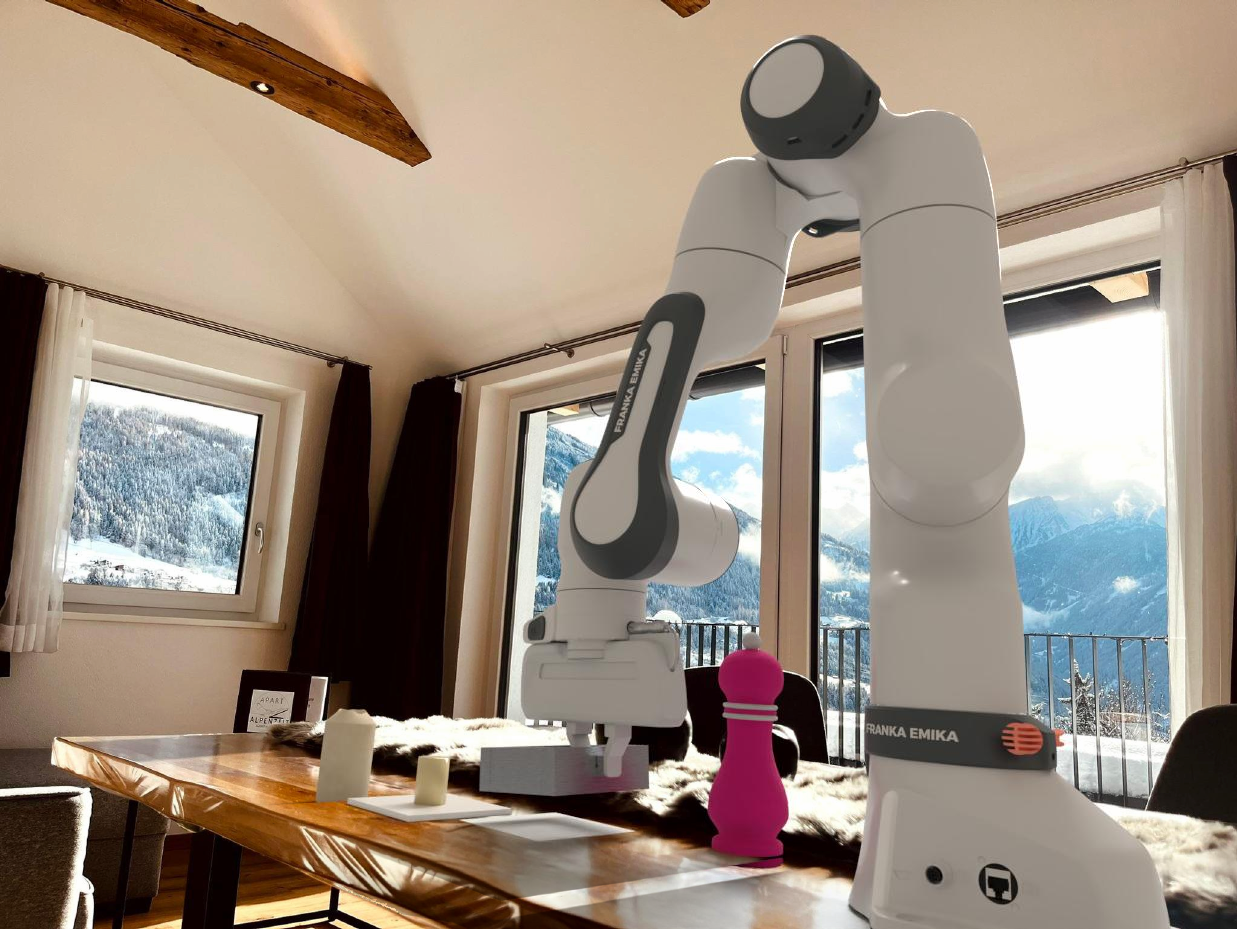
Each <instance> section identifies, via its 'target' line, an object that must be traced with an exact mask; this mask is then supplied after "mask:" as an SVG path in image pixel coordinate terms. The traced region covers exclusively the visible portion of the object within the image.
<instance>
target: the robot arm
mask: <svg viewBox="0 0 1237 929" xmlns="http://www.w3.org/2000/svg"><path fill="white" fill-rule="evenodd" d="M881 96H882V91H881V88H880V86H879V85H878V84H877V83H876V82H875V81H874V80H873V78H872V77H871V76H870V75H869V74H868V73H867V72H866V71H865V70H864V68H863V67H862V66H861V64H859V62H858V61H857V60H856V59H855V58H854V57H852V55H850V54H849V52H847V51H846V50H845V49H843V48H842V47H841V46H839V45H838V44H837V43H835V42H833V41H831V40H830V39H829V38H825V37H823V36H820V35H817V34H816V35H815V34H801V35H796V36H793V37H792V36H791V37H789V38H786V39H784V40H782V41H781V42H778V43H777V44H775V45H773V47H771V48H770V49H768V50H767V51H766V52H765V53H764V54H763V55H762V56H761V57H759V58H758V60H757V61H756V62H755V64H754V65H753V66H752V68H751V69H750V71H749V73H748V74H747V76H746V78H745V80H744V84H743V86H742V90H741V94H740V101H739V102H740V112H741V118H742V122H743V124H744V127H745V130H746V132H747V134H748V137H749V138H750V140H751V141H752V143H753V145H754V146H755V148H756V149H757V150H758V152H757V153H755V154H753V155H751V156H749V157H745V156H744V157H743V156H742V157H741V156H740V157H739V156H737V157H730V158H726V159H723V160H721V161H717V162H716V163H714V164H712V166H709V168H708V169H707V170H706V171H705V172H704V173H703V175H702V176H701V178H700V180H699V181H698V183H697V186H696V188H695V190H694V194H693V196H692V198H691V200H690V203H689V206H688V207H687V208H688V209H687V212H686V214H685V217H684V220H683V224H682V227H681V230H680V234H679V238H678V241H677V244H676V250H675V254H674V259H673V262H672V268H671V273H670V277H669V278H668V279H669V280H668V282H667V285H666V288H665V290H664V293H663V295H662V296H661V297H660V298H659V299H657V300H656V301H654V303H653V304H652V306H650V308H649V309H648V311H647V313H646V314H645V316H644V317H643V320H642V322H641V324H640V327H639V328H638V331H637V334H636V335H635V336H636V337H635V338H634V341H633V344H632V347H631V350H630V352H629V356H628V357H627V358H628V359H627V362H626V364H625V369H624V371H623V375H622V377H621V380H620V384H619V385H618V389H617V393H616V395H615V399H614V401H613V403H612V404H613V405H612V407H611V411H610V412H609V413H610V414H609V417H608V420H607V422H606V426H605V429H604V431H603V432H604V433H603V435H602V438H601V441H600V443H599V446H598V449H597V451H596V453H595V455H594V457H593V458H590V459H587V460H584V461H582V462H581V463H579V464H577V465H576V466H574V468H572V469H571V471H569V474H568V476H567V478H566V481H565V484H564V486H563V490H562V495H561V500H560V508H559V509H560V510H559V518H558V532H557V533H558V535H557V549H558V550H557V551H558V554H559V558H560V576H559V579H558V582H557V586H556V592H555V603H553V604H551V605H550V606H548V607H547V608H546V609H544V610H543V611H542V612H540V613H539V614H538V615H535V616H534V617H532V618H531V619H528V620H527V621H525V623H524V625H523V628H522V640H523V642H524V643H525V644H529V645H528V647H527V648H526V649H525V652H524V654H523V657H522V663H521V665H522V666H521V674H520V675H521V676H520V677H521V678H520V708H521V709H522V710H521V711H522V713H523V714H524V716H525V719H526V720H532V721H533V720H534V721H548V722H549V721H551V722H553V721H554V722H565V723H566V727H565V728H566V730H565V732H566V733H565V735H566V738H567V740H568V743H569V745H570V746H571V747H591V745H592V744H591V742H590V736H589V735H592V734H593V724H597V725H599V724H602V725H604V737H606V738H608V739H607V742H606V744H605V745H606V748H605V751H604V754H603V756H597V765H598V767H597V774H598V775H599V776H605V777H618V776H620V774H621V767H622V756H623V754H624V752H625V750H626V748H627V746H628V745H629V743H630V741H631V739H632V726H636V727H649V728H650V727H651V728H675V727H676V728H677V727H680V726H682V724H683V722H684V721H685V718H686V717H687V715H688V698H687V696H688V695H687V685H686V677H685V676H686V675H685V669H684V668H685V667H684V663H683V657H682V654H681V639H680V634H679V633H678V632H677V630H675V628H674V627H673V626H671V625H669V622H668V621H665V620H655V621H651V622H650V621H647V592H648V591H647V590H648V586H649V584H650V583H654V584H659V585H668V586H669V585H670V586H676V587H680V588H695V587H700V586H707V585H711V584H712V583H713V582H716V581H718V580H719V579H720V578H721V577H723V576H724V575H725V574H726V573H727V572H728V571H729V569H730V568H731V566H732V565H733V563H734V560H735V558H736V556H737V554H738V550H739V546H740V545H739V544H740V537H741V536H740V527H739V526H740V525H739V522H738V518H737V516H736V513H735V511H734V510H733V508H732V507H731V506H730V504H729V503H728V502H726V501H725V499H723V498H721V497H719V496H718V495H716V493H713V492H711V491H709V490H707V489H705V488H703V487H700V486H698V485H695V484H693V483H690V482H686V481H682V480H680V479H677V478H675V477H674V475H673V472H672V467H671V458H672V453H673V451H674V450H673V449H674V446H675V443H676V441H677V440H676V439H677V437H678V433H679V430H680V426H681V423H682V420H683V417H684V414H685V410H686V406H687V404H688V400H689V396H690V393H691V389H692V388H693V387H692V386H693V385H694V382H695V380H696V379H697V377H698V375H699V374H700V373H701V371H702V370H704V368H706V367H707V366H708V365H710V364H714V363H721V362H722V363H723V362H731V361H734V360H735V361H736V360H738V359H741V358H744V357H746V356H748V355H750V354H753V352H755V351H756V350H758V349H759V348H760V347H762V345H764V344H765V343H766V342H767V341H768V340H769V339H770V337H771V334H772V332H773V330H774V328H775V325H776V323H777V320H778V317H779V316H780V311H781V308H782V303H783V297H784V294H785V293H784V292H785V288H786V283H787V282H786V281H787V277H788V276H787V275H788V270H789V264H790V263H789V262H790V258H791V252H792V248H793V245H794V241H795V239H796V237H797V235H798V234H799V233H800V232H803V233H805V235H807V236H810V237H811V238H818V239H822V238H826V237H829V236H832V235H834V234H836V233H853V232H858V231H859V251H860V252H859V253H860V277H861V278H860V279H861V280H860V281H861V303H862V305H861V308H862V326H863V327H862V330H863V332H862V333H863V334H862V335H863V336H862V338H863V375H864V377H863V378H864V380H863V381H864V413H865V443H866V454H867V462H868V463H867V464H868V473H869V474H868V475H869V476H868V477H869V505H870V506H869V519H870V520H869V523H870V524H869V534H870V535H869V538H870V539H869V543H870V544H869V597H868V598H869V698H870V699H869V703H870V704H867V705H865V706H864V717H863V718H864V719H863V720H864V721H863V722H864V724H863V726H864V727H863V754H864V755H863V756H864V766H865V771H866V776H867V778H868V779H867V780H868V781H867V795H866V807H865V815H864V823H863V833H862V838H861V845H860V851H859V856H858V862H857V866H856V870H855V875H854V879H853V882H852V886H851V890H850V891H849V892H850V893H849V896H848V900H847V901H848V904H849V906H851V907H852V908H853V909H854V910H855V911H857V912H859V913H860V914H862V915H864V916H865V917H866V918H867V919H868V920H869V926H870V928H872V929H1180V928H1178V927H1175V926H1171V923H1170V917H1169V913H1168V908H1167V903H1166V899H1165V895H1164V891H1163V886H1162V882H1161V879H1160V876H1159V872H1158V870H1157V868H1156V865H1155V861H1154V860H1153V858H1152V856H1151V853H1150V852H1149V850H1148V849H1147V847H1146V846H1145V845H1144V844H1143V842H1141V840H1140V839H1139V838H1137V837H1136V836H1135V835H1134V834H1132V833H1131V832H1130V831H1129V830H1127V828H1125V827H1124V826H1122V825H1121V824H1120V823H1119V822H1117V820H1115V819H1114V818H1113V817H1111V816H1110V815H1108V814H1107V813H1106V812H1105V811H1104V810H1103V809H1102V808H1100V807H1099V806H1098V805H1096V804H1095V803H1094V802H1093V801H1091V800H1090V799H1089V798H1088V797H1087V796H1086V795H1085V794H1083V793H1082V792H1081V791H1080V790H1078V789H1077V788H1076V787H1074V786H1073V785H1072V784H1071V783H1070V782H1069V781H1068V780H1066V779H1065V778H1064V776H1062V775H1060V773H1058V772H1057V771H1056V770H1054V769H1055V768H1058V751H1057V750H1058V748H1059V747H1060V748H1061V747H1064V746H1065V742H1063V741H1061V740H1060V737H1062V736H1063V735H1064V734H1065V731H1064V730H1062V729H1052V728H1050V726H1047V725H1046V724H1044V723H1043V722H1042V721H1040V720H1039V719H1037V718H1035V717H1034V716H1032V715H1031V714H1028V701H1027V700H1028V697H1027V696H1028V694H1027V679H1026V677H1027V676H1026V673H1027V672H1026V655H1025V636H1024V635H1025V633H1024V630H1025V629H1024V614H1023V613H1024V612H1023V610H1024V609H1023V602H1022V597H1021V594H1020V588H1019V584H1018V579H1017V578H1018V577H1017V570H1016V563H1015V556H1014V548H1013V541H1012V533H1011V522H1010V512H1009V510H1010V509H1009V494H1010V488H1011V483H1012V481H1013V479H1014V478H1015V477H1016V474H1017V472H1018V471H1019V469H1020V466H1021V465H1022V461H1023V458H1024V455H1025V451H1026V430H1025V424H1024V416H1023V410H1022V401H1021V395H1020V388H1019V382H1018V376H1017V371H1016V366H1015V364H1016V363H1015V360H1014V355H1013V350H1012V345H1011V340H1010V337H1009V332H1008V329H1007V327H1008V326H1007V323H1006V315H1005V309H1004V299H1003V286H1002V284H1003V282H1002V273H1001V272H1002V271H1001V261H1000V260H1001V259H1000V247H999V235H998V223H997V213H996V205H995V200H994V199H995V198H994V193H993V187H992V182H991V178H990V173H989V170H988V166H987V163H986V158H985V156H984V155H985V154H984V152H983V150H982V149H983V148H982V146H981V143H980V141H979V140H980V139H979V137H978V134H976V131H975V130H974V128H973V127H972V126H971V124H970V123H969V122H968V121H966V120H965V119H964V118H962V117H961V116H959V115H957V114H955V113H952V112H949V111H945V110H936V109H926V110H919V111H915V112H911V113H907V114H895V113H893V112H892V111H890V110H888V108H887V107H886V105H885V103H884V101H883V100H882V98H881ZM811 229H813V230H816V232H815V231H813V230H811ZM668 631H669V632H668ZM1057 747H1058V748H1057Z"/></svg>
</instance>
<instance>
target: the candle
mask: <svg viewBox="0 0 1237 929" xmlns="http://www.w3.org/2000/svg"><path fill="white" fill-rule="evenodd" d="M376 728H377V723H376V721H375V720H374V719H373V718H372V716H370V714H369V713H368V712H367V710H366V709H354V708H353V709H344V708H339V709H338V710H337V711H336V712H335V713H333V715H331V716H330V717H329V718H328V719H326V721H325V723H324V730H323V739H322V745H321V746H322V747H321V754H320V762H319V769H318V777H317V785H316V793H315V803H331V802H335V803H337V802H348V798H361V797H369V789H370V780H371V771H372V762H373V755H374V744H375V737H376V731H377V730H376Z"/></svg>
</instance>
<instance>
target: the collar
mask: <svg viewBox="0 0 1237 929" xmlns="http://www.w3.org/2000/svg"><path fill="white" fill-rule="evenodd" d="M606 745H607V744H591V747H571V746H570V744H562V745H561V744H559V745H558V744H557V745H555V744H554V745H553V744H552V745H523V746H521V745H520V746H490V747H489V746H488V747H486V746H485V747H484V746H483V747H482V746H481V747H480V760H479V763H480V765H479V792H491V793H505V794H507V793H508V794H518V795H519V794H520V795H533V796H534V795H535V796H547V797H548V796H549V797H550V796H551V797H561V796H569V795H570V796H573V795H575V796H576V795H585V794H586V795H587V794H599V793H600V794H601V793H611V792H612V793H613V792H625V791H627V792H628V791H640V790H641V791H642V790H650V763H649V762H650V761H649V760H650V758H649V744H647V745H646V744H645V745H644V744H641V745H640V744H638V745H637V744H628V746H627V748H626V750H625V752H624V754H623V756H622V767H621V774H620V776H618V777H605V776H599V775H598V774H597V767H598V765H597V756H603V754H604V751H605V748H606Z"/></svg>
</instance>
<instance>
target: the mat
mask: <svg viewBox="0 0 1237 929" xmlns="http://www.w3.org/2000/svg"><path fill="white" fill-rule="evenodd" d="M459 821H461V822H464V823H467V824H472V825H475V826H479V827H483V828H486V829H490V830H494V831H497V832H500V833H505V834H508V835H511V836H516V837H519V838H523V839H526V840H529V841H533V842H535V843H536V842H537V843H538V842H540V843H541V842H550V841H558V840H568V839H578V838H590V837H599V836H607V835H617V834H627V833H628V834H629V833H636V832H637V831H636V830H632V829H627V828H623V827H619V826H614V825H610V824H606V823H602V822H598V821H594V820H590V819H585V818H580V817H575V816H571V815H568V814H565V813H564V814H562V813H560V812H559V813H558V812H545V813H532V814H531V813H529V814H518V815H502V816H489V817H475V818H468V819H467V818H462V819H459Z"/></svg>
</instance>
